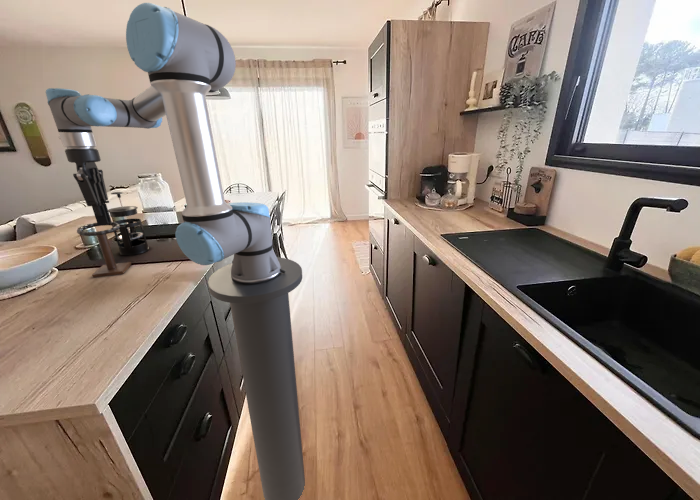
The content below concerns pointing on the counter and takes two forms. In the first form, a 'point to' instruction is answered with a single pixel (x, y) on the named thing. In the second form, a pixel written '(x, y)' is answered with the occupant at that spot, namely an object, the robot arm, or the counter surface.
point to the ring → (80, 231)
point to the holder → (109, 260)
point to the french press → (129, 239)
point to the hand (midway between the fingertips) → (105, 224)
